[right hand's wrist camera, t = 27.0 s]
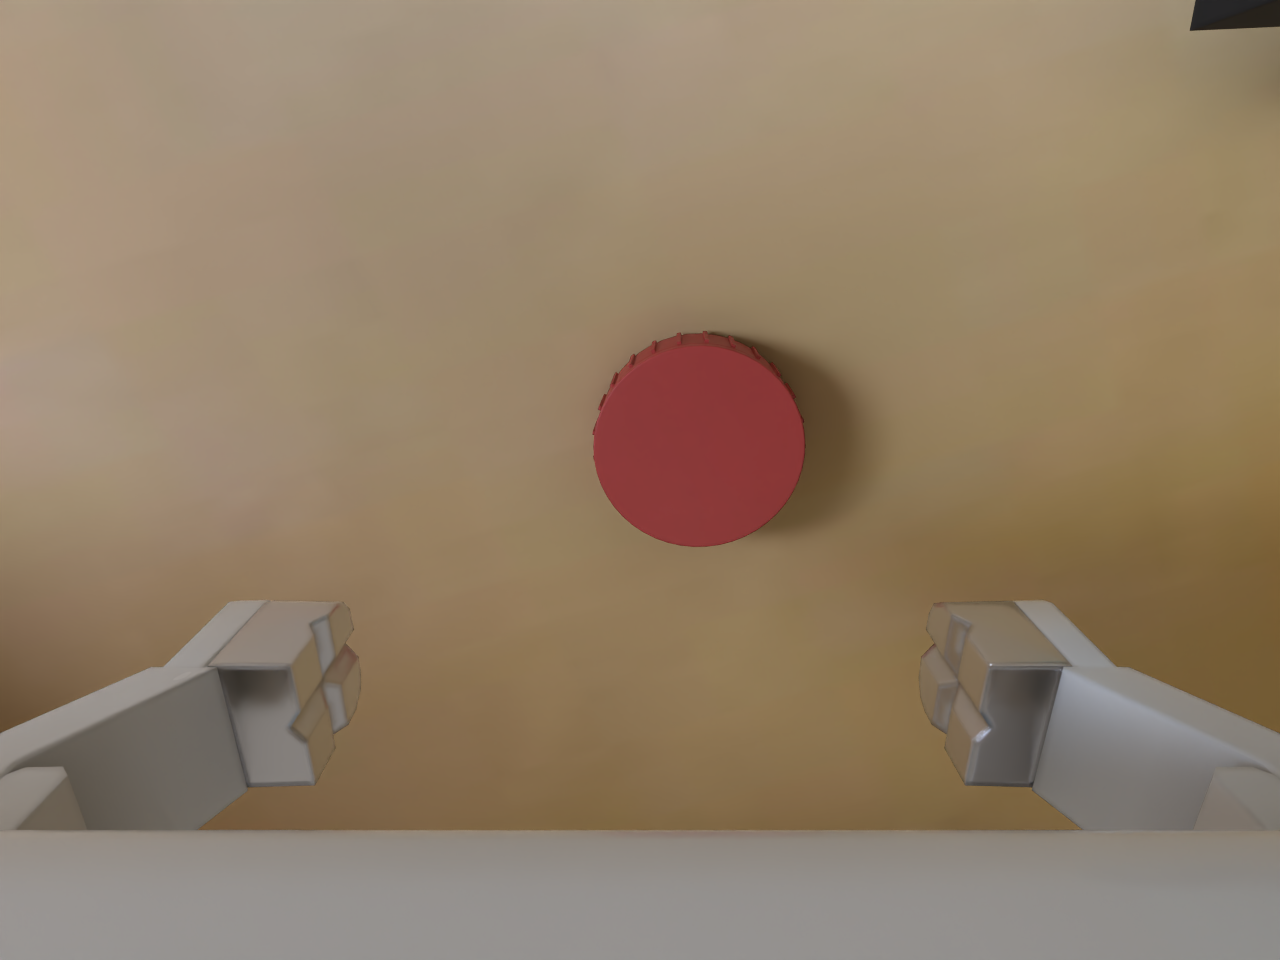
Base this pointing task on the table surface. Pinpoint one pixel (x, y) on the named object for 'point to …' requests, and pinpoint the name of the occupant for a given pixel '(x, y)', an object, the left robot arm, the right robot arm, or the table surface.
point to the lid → (698, 440)
